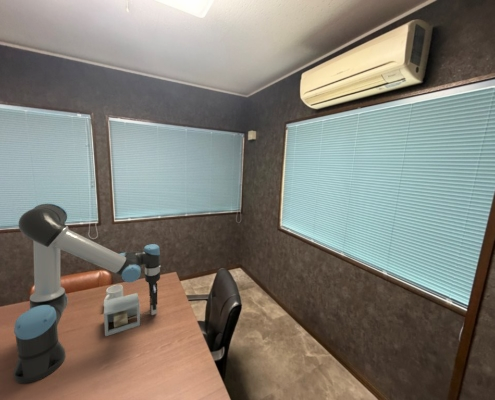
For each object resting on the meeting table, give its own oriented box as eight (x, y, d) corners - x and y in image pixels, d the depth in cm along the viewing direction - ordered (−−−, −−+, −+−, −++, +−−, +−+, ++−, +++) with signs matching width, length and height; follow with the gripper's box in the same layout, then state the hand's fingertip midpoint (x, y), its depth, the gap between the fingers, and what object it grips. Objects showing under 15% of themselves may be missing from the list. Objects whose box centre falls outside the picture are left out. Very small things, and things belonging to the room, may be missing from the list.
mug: (110, 314, 119) (109, 297, 117) (97, 311, 121) (96, 294, 119) (126, 301, 131) (126, 286, 129) (115, 299, 132) (114, 283, 131)
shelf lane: (105, 336, 104) (103, 313, 102) (105, 321, 114) (104, 300, 112) (140, 325, 112) (139, 304, 110) (138, 312, 122) (137, 292, 120)
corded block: (114, 327, 108) (113, 313, 107) (114, 320, 113) (113, 306, 112) (157, 314, 119) (157, 301, 118) (155, 308, 124) (155, 295, 123)
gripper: (162, 278, 112) (163, 318, 116) (157, 265, 126) (158, 301, 130) (147, 281, 108) (148, 323, 112) (143, 267, 122) (144, 305, 126)
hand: (153, 311), depth 121 cm, fingers closed on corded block, 3 cm apart
